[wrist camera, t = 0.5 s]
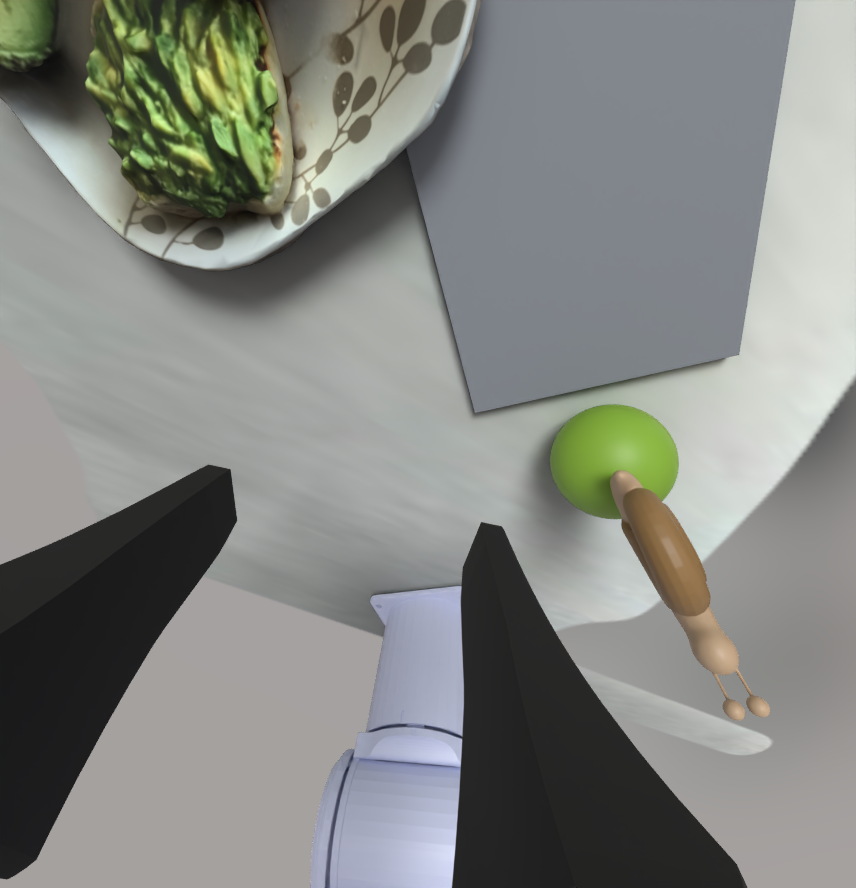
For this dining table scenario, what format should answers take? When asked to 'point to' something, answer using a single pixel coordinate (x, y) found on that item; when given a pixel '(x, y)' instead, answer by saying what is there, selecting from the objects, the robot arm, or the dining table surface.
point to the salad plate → (226, 108)
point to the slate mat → (601, 187)
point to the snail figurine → (646, 520)
